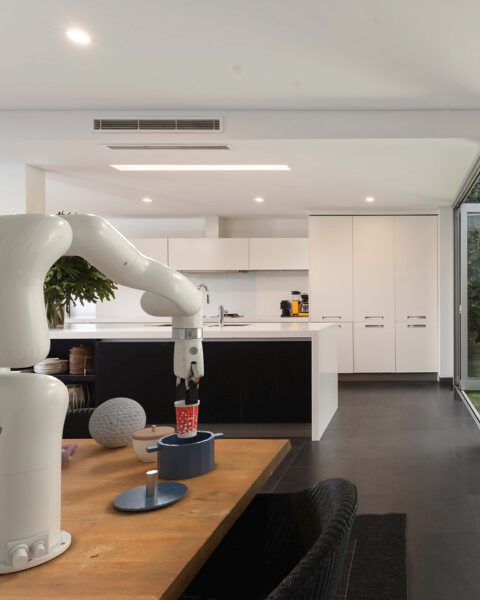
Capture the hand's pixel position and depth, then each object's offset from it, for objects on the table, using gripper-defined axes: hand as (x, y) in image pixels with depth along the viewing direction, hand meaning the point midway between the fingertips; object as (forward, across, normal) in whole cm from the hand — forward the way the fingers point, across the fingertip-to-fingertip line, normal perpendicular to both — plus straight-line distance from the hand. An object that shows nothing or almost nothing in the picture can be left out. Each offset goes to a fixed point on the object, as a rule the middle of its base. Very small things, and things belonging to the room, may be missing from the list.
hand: (187, 401), depth 120 cm
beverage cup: (+9, 0, 0) cm, 9 cm away
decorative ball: (+18, +36, +9) cm, 41 cm away
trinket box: (+18, +16, +4) cm, 25 cm away
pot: (+18, 0, 0) cm, 18 cm away
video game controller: (+18, +26, +24) cm, 40 cm away
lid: (+17, -14, +12) cm, 25 cm away
